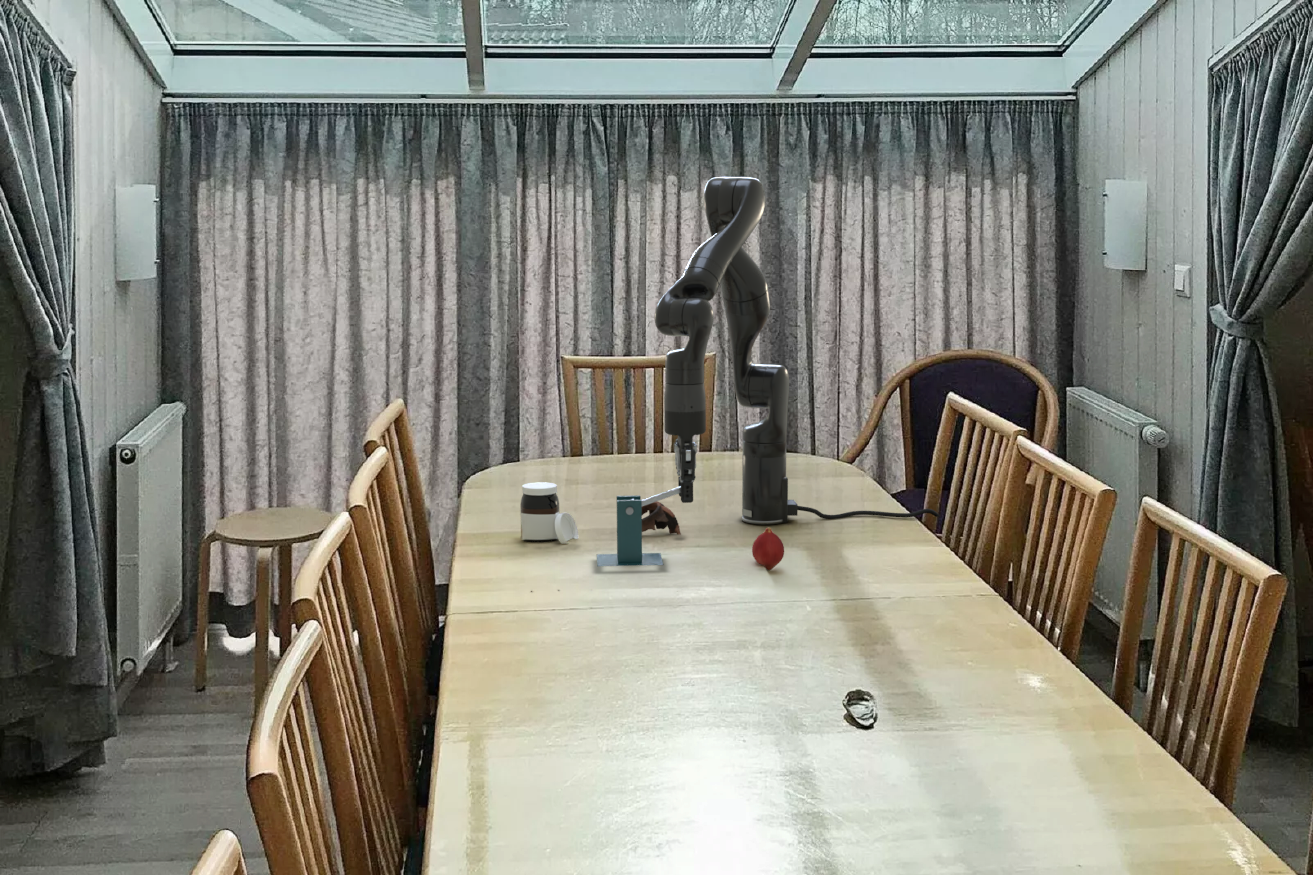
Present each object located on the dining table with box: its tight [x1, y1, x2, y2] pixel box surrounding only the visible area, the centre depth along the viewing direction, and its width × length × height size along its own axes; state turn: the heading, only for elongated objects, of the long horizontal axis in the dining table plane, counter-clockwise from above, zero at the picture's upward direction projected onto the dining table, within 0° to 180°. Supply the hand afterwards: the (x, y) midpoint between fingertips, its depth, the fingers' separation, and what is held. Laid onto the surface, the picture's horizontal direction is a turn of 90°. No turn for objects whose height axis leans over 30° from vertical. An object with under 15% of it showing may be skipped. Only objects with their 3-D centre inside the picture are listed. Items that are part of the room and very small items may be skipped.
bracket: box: [596, 494, 664, 567], centre depth 254 cm, size 12×9×13 cm
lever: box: [630, 486, 681, 506], centre depth 253 cm, size 13×5×2 cm, turn 91°
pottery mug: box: [642, 501, 682, 536], centre depth 279 cm, size 12×10×8 cm
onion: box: [751, 527, 785, 571], centre depth 251 cm, size 6×6×8 cm
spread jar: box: [519, 481, 579, 545], centre depth 272 cm, size 12×11×12 cm
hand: (685, 498), depth 254 cm, fingers closed on lever, 5 cm apart
